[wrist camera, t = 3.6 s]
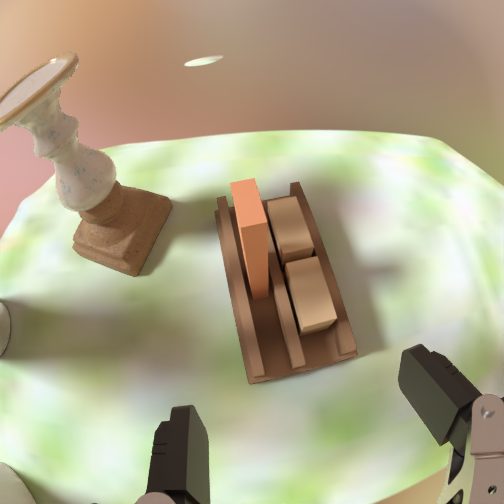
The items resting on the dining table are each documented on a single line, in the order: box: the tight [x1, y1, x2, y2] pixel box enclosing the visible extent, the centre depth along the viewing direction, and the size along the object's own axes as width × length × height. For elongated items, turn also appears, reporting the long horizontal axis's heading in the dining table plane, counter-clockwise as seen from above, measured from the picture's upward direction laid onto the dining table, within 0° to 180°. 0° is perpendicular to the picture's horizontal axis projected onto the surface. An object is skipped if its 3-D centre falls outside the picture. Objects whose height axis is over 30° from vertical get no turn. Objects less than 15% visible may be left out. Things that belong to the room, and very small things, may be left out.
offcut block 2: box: [284, 256, 337, 336], centre depth 27 cm, size 6×3×4 cm, turn 12°
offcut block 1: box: [267, 196, 314, 272], centre depth 30 cm, size 6×3×4 cm, turn 12°
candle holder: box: [0, 52, 172, 277], centre depth 26 cm, size 11×11×24 cm
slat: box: [230, 178, 269, 300], centre depth 24 cm, size 4×2×14 cm, turn 12°
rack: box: [215, 182, 358, 384], centre depth 30 cm, size 20×11×4 cm, turn 12°
